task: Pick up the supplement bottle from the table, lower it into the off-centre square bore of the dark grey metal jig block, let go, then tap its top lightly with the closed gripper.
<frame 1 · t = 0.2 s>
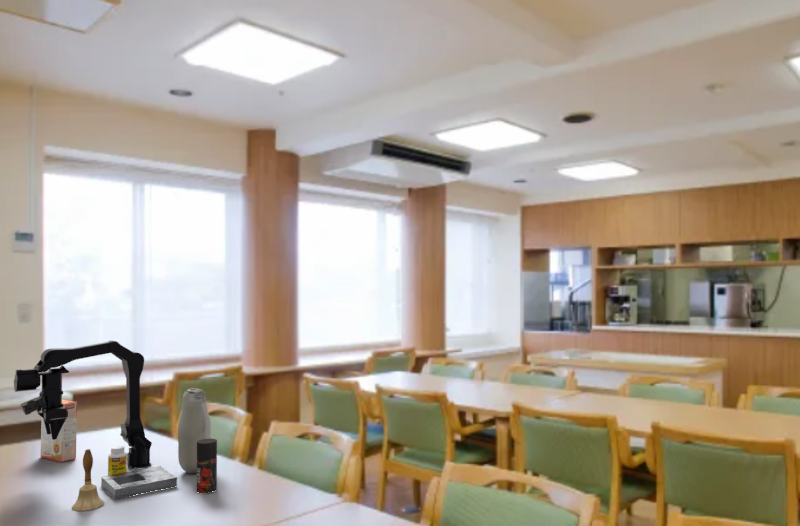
hand: (51, 436, 198), 14 cm above the table, tool pointing down, fingers open, 9 cm apart
deodorant: (206, 491, 188), on the table
gray bottle: (194, 472, 207), on the table
hand bell: (88, 506, 175), on the table
cracker box: (58, 458, 225), on the table
jig block: (138, 486, 192), on the table
supplement bottle: (117, 479, 200), on the table
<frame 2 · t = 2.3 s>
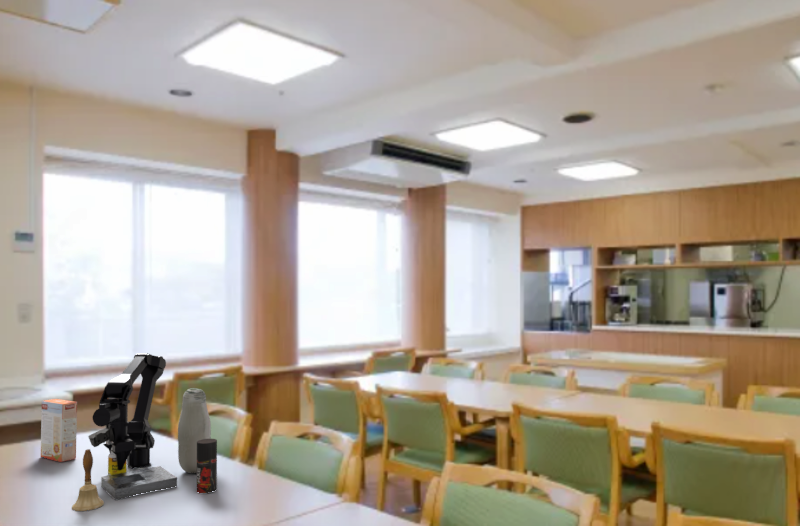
hand: (117, 467, 200), 4 cm above the table, tool pointing down, fingers closed on supplement bottle, 6 cm apart
supplement bottle: (117, 479, 200), on the table, touching gripper
everything else where it was.
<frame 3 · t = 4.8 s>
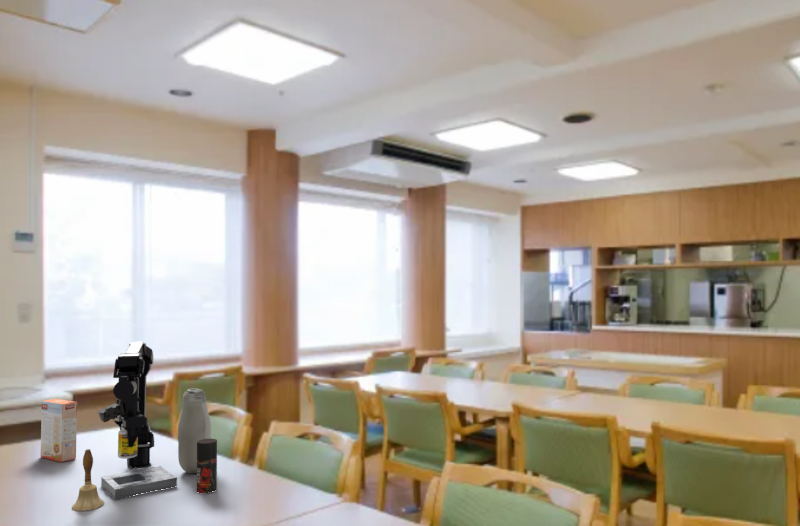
hand: (128, 445, 191), 13 cm above the table, tool pointing down, fingers closed on supplement bottle, 5 cm apart
supplement bottle: (127, 457, 191), point 10 cm above the table, touching gripper
everything else where it was.
when the fingers open (4 cm above the table, at t = 7.3 s): supplement bottle stays where it is, resting in jig block.
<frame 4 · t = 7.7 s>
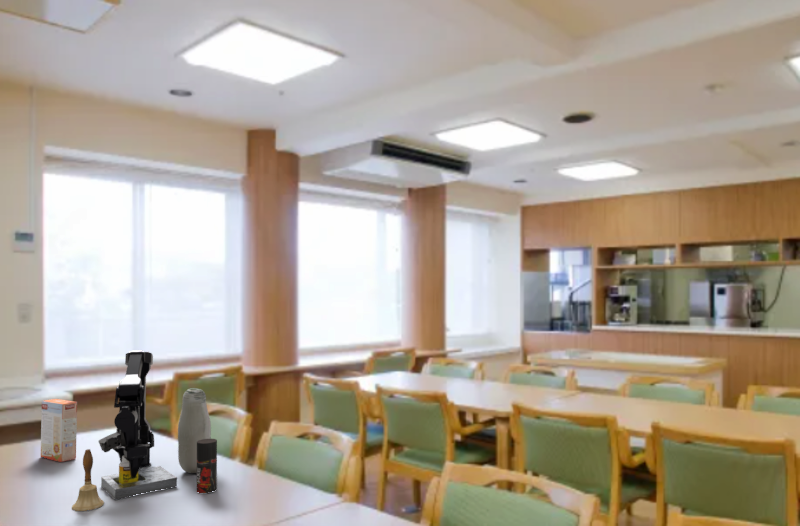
hand: (128, 474, 190), 4 cm above the table, tool pointing down, fingers open, 9 cm apart
supplement bottle: (128, 489, 190), resting in jig block
everything else where it was.
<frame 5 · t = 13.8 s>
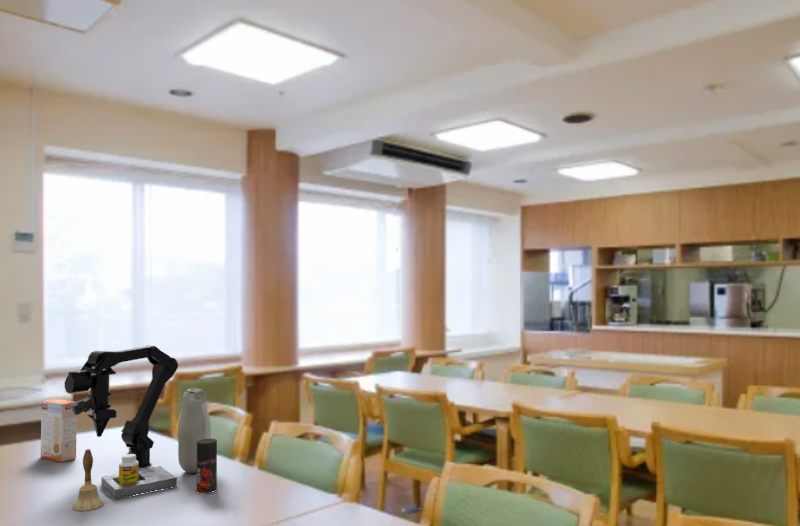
hand: (99, 436, 204), 13 cm above the table, tool pointing down, fingers closed
nothing on the table moved.
at the end: supplement bottle 0.2 cm from the target spot on the jig block, point 0.0 cm above the jig block's base; supplement bottle tilted 0°; the gripper is holding nothing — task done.
